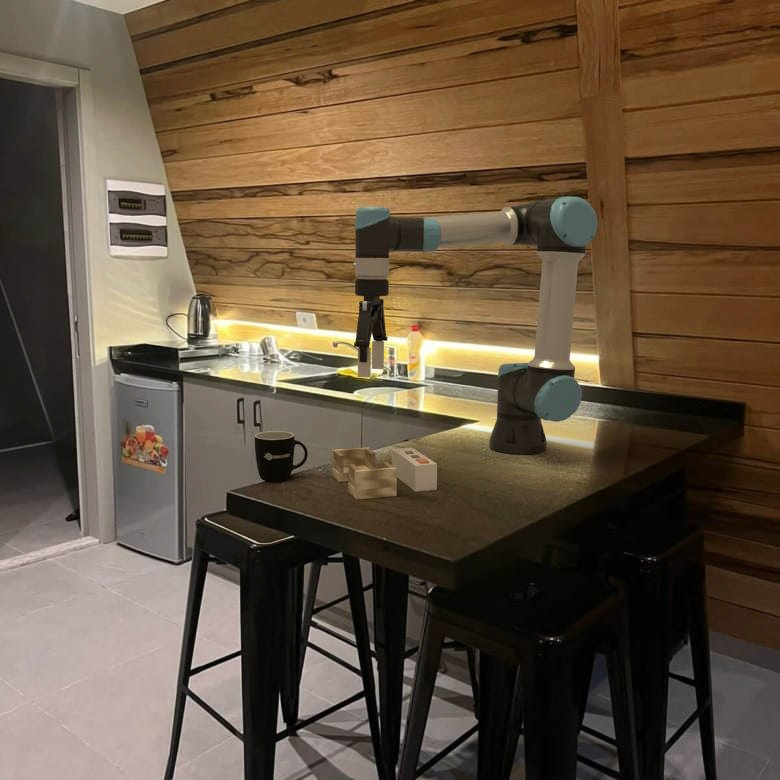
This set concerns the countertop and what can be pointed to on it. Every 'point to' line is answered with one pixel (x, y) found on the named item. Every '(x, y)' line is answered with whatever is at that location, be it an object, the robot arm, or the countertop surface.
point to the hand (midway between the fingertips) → (371, 373)
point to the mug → (276, 455)
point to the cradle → (364, 473)
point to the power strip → (415, 469)
